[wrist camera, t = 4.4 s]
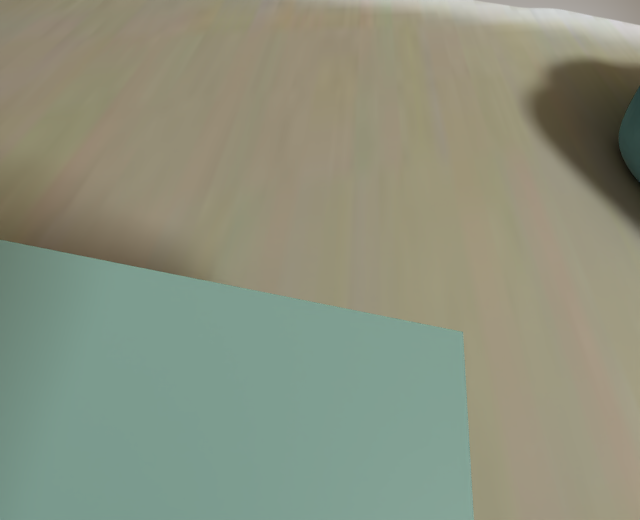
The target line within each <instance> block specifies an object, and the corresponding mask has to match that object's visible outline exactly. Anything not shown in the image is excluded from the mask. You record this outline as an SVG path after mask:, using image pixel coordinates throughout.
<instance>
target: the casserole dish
mask: <svg viewBox="0 0 640 520" xmlns="http://www.w3.org/2000/svg"><path fill="white" fill-rule="evenodd" d="M619 148H620V151H621V154H622V157H623V159H624V161H625V163H626V165H627V167H628V168H629V170H630V171H631V173H632V174H633V175H634V177H635V178H636V179H637V180H638V181H639V182H640V86H639V88H638V90H637V92H636V94H635V95H634V97H633V99H632V101H631V103H630V105H629V107H628V109H627V111H626V113H625V115H624V118H623V120H622V123H621V126H620V130H619Z"/></svg>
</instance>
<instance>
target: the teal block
mask: <svg viewBox="0 0 640 520" xmlns="http://www.w3.org/2000/svg"><path fill="white" fill-rule="evenodd" d="M0 520H474V516H473V499H472V481H471V464H470V447H469V429H468V412H467V395H466V377H465V360H464V343H463V332H461V331H456V330H451V329H445V328H440V327H435V326H430V325H425V324H420V323H415V322H410V321H405V320H400V319H395V318H390V317H385V316H380V315H375V314H370V313H365V312H360V311H355V310H350V309H345V308H340V307H335V306H330V305H325V304H320V303H315V302H310V301H305V300H300V299H295V298H290V297H285V296H280V295H275V294H270V293H265V292H260V291H255V290H250V289H245V288H240V287H235V286H230V285H225V284H220V283H215V282H210V281H205V280H200V279H195V278H190V277H185V276H180V275H175V274H170V273H165V272H160V271H155V270H150V269H145V268H140V267H135V266H130V265H125V264H120V263H115V262H110V261H105V260H100V259H95V258H90V257H85V256H80V255H75V254H70V253H65V252H60V251H55V250H50V249H45V248H40V247H35V246H29V245H24V244H19V243H14V242H9V241H4V240H0Z"/></svg>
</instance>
